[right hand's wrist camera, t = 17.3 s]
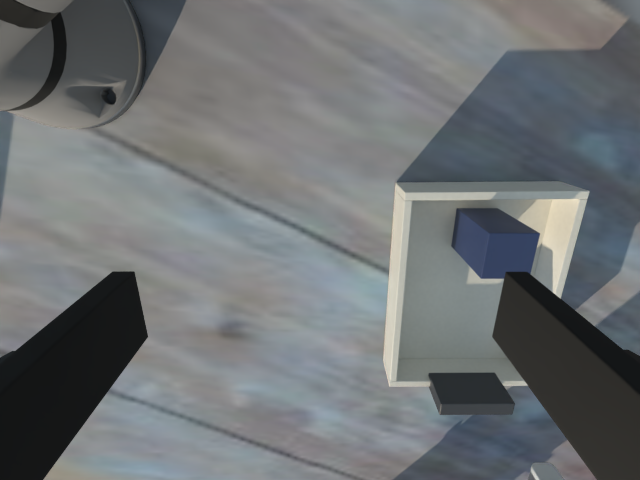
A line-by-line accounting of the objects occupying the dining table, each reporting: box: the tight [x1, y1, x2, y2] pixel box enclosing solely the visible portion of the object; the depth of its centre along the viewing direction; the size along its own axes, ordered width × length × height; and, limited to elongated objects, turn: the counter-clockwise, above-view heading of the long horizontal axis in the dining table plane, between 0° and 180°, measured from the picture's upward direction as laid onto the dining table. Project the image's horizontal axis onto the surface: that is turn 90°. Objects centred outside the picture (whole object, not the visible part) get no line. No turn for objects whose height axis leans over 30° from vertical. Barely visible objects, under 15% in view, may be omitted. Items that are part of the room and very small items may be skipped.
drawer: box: [383, 181, 590, 415], centre depth 39 cm, size 24×18×8 cm
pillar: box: [451, 208, 540, 279], centre depth 36 cm, size 4×4×8 cm
